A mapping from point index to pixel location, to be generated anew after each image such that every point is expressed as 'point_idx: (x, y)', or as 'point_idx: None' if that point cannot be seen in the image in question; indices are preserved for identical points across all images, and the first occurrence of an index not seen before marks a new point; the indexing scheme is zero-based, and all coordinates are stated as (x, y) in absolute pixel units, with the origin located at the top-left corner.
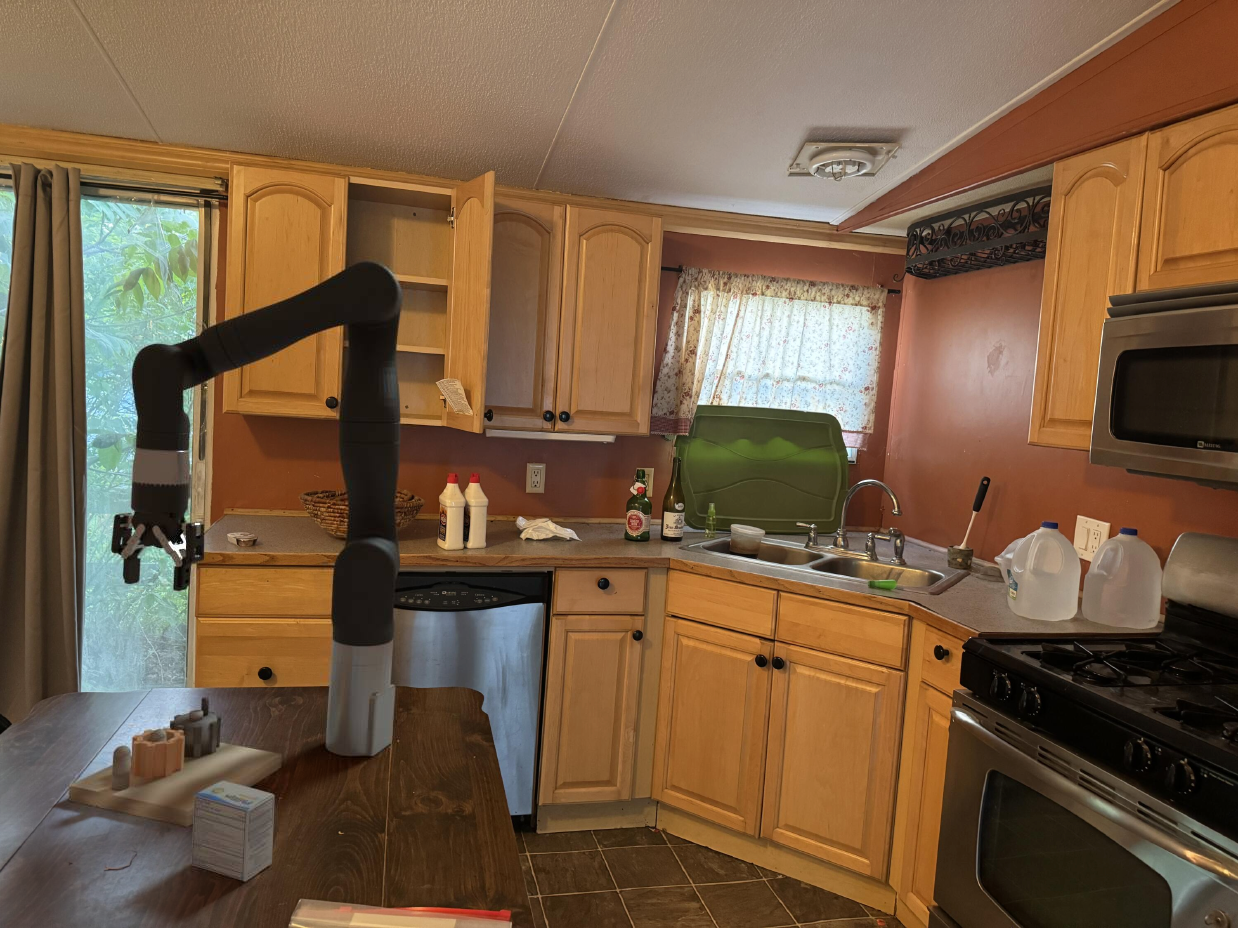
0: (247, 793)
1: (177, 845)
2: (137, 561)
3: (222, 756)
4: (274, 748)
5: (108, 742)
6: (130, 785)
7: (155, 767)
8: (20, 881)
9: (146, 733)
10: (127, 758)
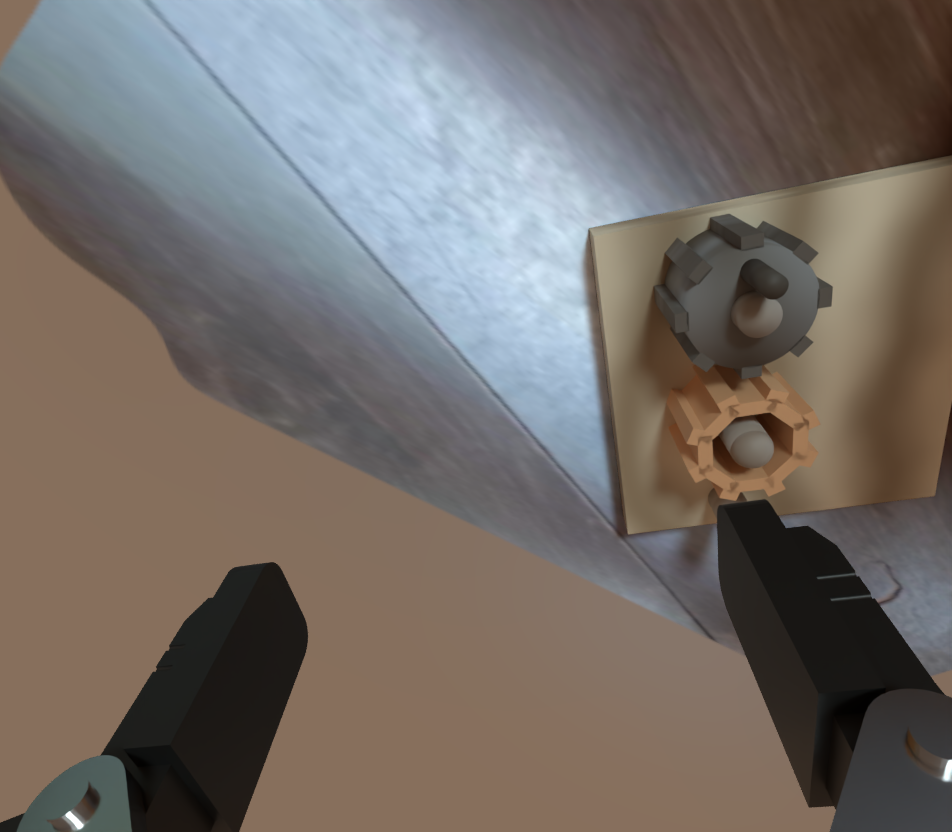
0: None
1: (939, 523)
2: (207, 743)
3: (828, 272)
4: (866, 47)
5: (422, 308)
6: None
7: None
8: None
9: (707, 451)
10: None
